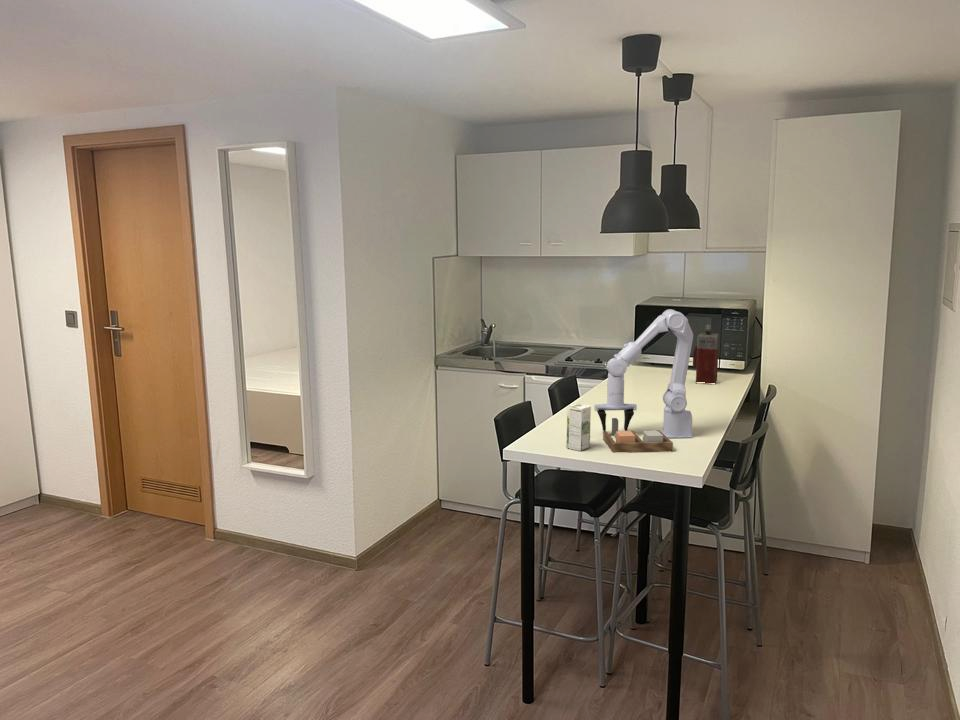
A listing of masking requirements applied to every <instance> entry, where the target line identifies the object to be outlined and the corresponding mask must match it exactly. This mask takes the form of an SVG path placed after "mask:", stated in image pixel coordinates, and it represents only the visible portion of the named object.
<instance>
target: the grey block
mask: <svg viewBox="0 0 960 720" xmlns="http://www.w3.org/2000/svg"><path fill="white" fill-rule="evenodd" d="M642 433H643V434H642V441H643V442H663V435H662V434H661V433H660V432H659V431H656V430H649V431H648V430H644V431H643V432H642Z"/></svg>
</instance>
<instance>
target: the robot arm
mask: <svg viewBox="0 0 960 720" xmlns="http://www.w3.org/2000/svg"><path fill="white" fill-rule="evenodd" d="M661 313H662V314H660V315H658V316H657V318H655V319H654V320H653V322H652V323H650V325H649V326H648V327H647V328H646V329H645V330H644V331H643V332H642V333H641V334H640V335H639V336H638V337H637V338H636V340H635V341H629V342H628V343H624V344H623V348H622V349H621V350H620V351H619V352H618V353H615V354H614V355H613V357H612V358H611V359H609V360H608V362H607V363H606V370H607V371H608V372H607V373H608V374H607V393H606V394H607V396H606V397H607V399H606V400H607V401H606V403H601V404H594V406H593V407H594V408H593V409H594V411H595V412H597V415H598V417H599V419H600V424H601V428H602V432H603V431H606V430H607V425H606V423H607V422H606V421H607V413H606V411H623V412H624V414H623V415H624V421H623V422H624V423H623V424H624V426H623V430H624V431H629V425H630V424H631V423H630V422H631V420H632V419H633V416H634V414H635V411H637V409H638V408H637V404H636V403H625V379H624V378H625V374H626V371H627V368H628V367H630V365H632V364H633V362H635V360H637V358H639V357H640V355H642V349H644V347H645V346H646V345H647V344H648V343H650V342H651V341H652V340H653V339H654V338H655V337H656V336H658V334H659V333H664V332H669V330H670V331H671V332H672V333H673V335H674V336H676V338H677V339H676V345H675V349H674V350H675V351H674V358H673V364H672V368H671V369H672V370H671V374H670V381H669V383H668V385H667V388H666V391H665V392H664V393H663V395H662V401H663V403H664V404H665V405H664V408H663V423H662V424H663V427H662V428H663V430H660V431H661V432H662V433H663V434H664V435H665V436H666V437H667V438H668V439H670V438H671V439H677V438H679V439H685V438H693V415H692V412H691V410H686V408H687V405H688V402H687V398H686V395H687V390H686V380H687V375H688V369H689V364H690V357H691V351H692V347H693V340H694V333H693V330H692V328H691V326H690V324H689V319H688V318H687V317H686V316H685V315H684V314H683V313H682V312H680V311H676V310H675V309H671V308H669V309H666V310H664V311H663V312H661Z"/></svg>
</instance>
